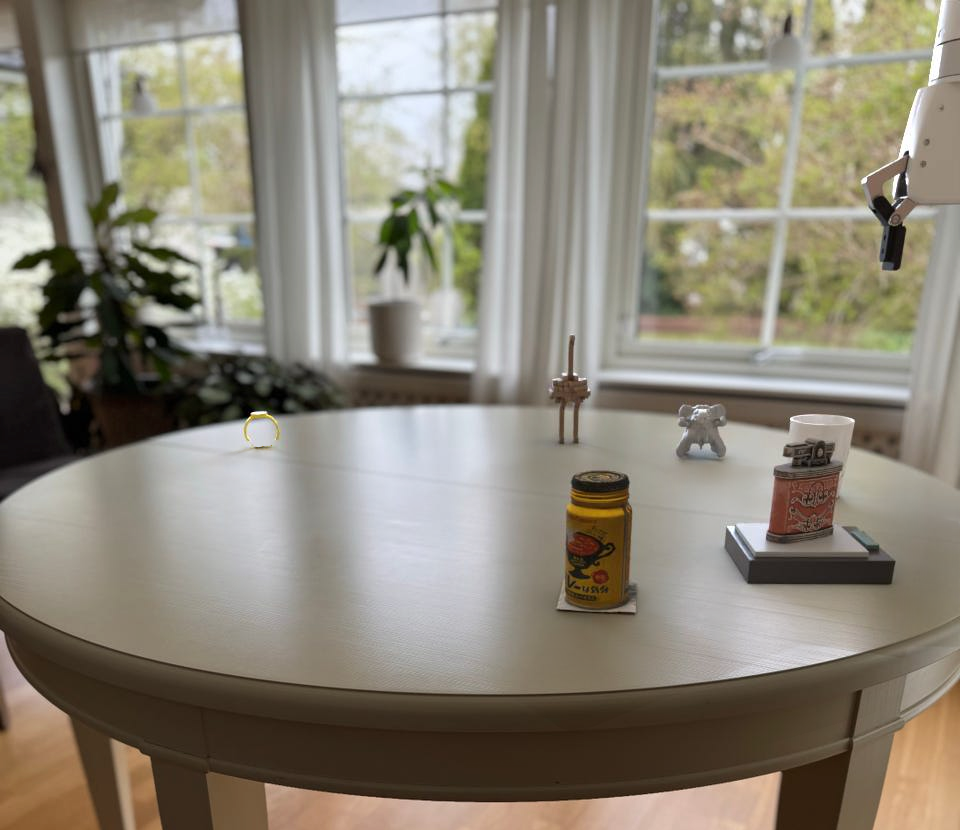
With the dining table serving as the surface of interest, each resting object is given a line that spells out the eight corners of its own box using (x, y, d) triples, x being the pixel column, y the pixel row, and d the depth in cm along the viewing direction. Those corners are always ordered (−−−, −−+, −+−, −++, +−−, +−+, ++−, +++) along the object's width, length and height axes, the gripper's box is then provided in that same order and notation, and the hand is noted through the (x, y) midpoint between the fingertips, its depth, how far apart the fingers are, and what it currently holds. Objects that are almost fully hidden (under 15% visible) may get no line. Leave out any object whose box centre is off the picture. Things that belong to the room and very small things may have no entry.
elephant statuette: (681, 462, 138) (684, 412, 135) (658, 447, 149) (661, 400, 146) (738, 460, 139) (743, 410, 136) (711, 445, 150) (715, 399, 147)
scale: (852, 546, 98) (856, 520, 97) (891, 584, 87) (896, 555, 86) (724, 546, 99) (726, 520, 98) (747, 583, 88) (750, 554, 87)
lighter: (816, 527, 95) (829, 433, 91) (840, 535, 92) (855, 438, 88) (757, 537, 92) (768, 440, 88) (781, 546, 89) (793, 446, 85)
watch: (281, 444, 157) (277, 410, 155) (281, 447, 155) (277, 412, 152) (246, 446, 156) (242, 412, 154) (246, 449, 154) (241, 414, 151)
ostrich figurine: (589, 445, 152) (593, 335, 144) (550, 446, 152) (552, 335, 144) (578, 427, 167) (580, 327, 160) (542, 428, 167) (543, 327, 160)
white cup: (837, 505, 114) (849, 426, 110) (775, 498, 118) (784, 422, 114) (848, 491, 120) (859, 416, 116) (788, 485, 124) (797, 412, 120)
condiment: (556, 611, 82) (558, 483, 77) (564, 580, 90) (566, 462, 85) (635, 614, 81) (643, 485, 76) (636, 583, 88) (643, 464, 84)
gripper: (1051, 72, 84) (1011, 267, 91) (865, 78, 85) (839, 270, 92) (1097, 56, 77) (1049, 268, 84) (894, 63, 78) (863, 271, 85)
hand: (940, 269), depth 88 cm, fingers open, 9 cm apart
